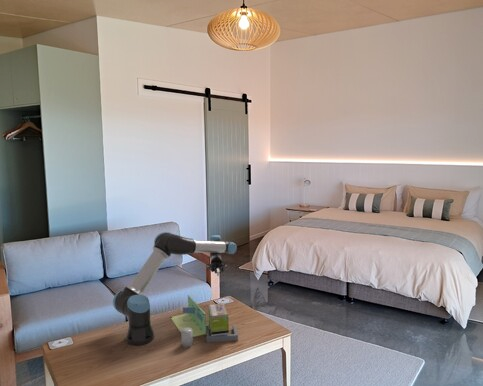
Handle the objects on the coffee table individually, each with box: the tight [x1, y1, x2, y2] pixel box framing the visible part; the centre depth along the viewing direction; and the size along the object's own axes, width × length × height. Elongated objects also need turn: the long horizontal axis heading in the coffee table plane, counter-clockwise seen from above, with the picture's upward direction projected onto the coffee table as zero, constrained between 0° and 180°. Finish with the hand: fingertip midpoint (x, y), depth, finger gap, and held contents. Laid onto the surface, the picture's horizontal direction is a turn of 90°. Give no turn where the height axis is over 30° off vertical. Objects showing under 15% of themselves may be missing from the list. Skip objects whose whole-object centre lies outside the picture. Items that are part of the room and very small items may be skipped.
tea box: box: [207, 303, 230, 336], centre depth 223 cm, size 15×10×15 cm
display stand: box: [170, 295, 207, 338], centre depth 234 cm, size 30×12×12 cm, turn 26°
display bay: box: [205, 323, 239, 344], centre depth 222 cm, size 17×14×3 cm
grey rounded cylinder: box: [180, 328, 194, 348], centre depth 213 cm, size 6×6×8 cm
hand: (218, 273), depth 241 cm, fingers closed
